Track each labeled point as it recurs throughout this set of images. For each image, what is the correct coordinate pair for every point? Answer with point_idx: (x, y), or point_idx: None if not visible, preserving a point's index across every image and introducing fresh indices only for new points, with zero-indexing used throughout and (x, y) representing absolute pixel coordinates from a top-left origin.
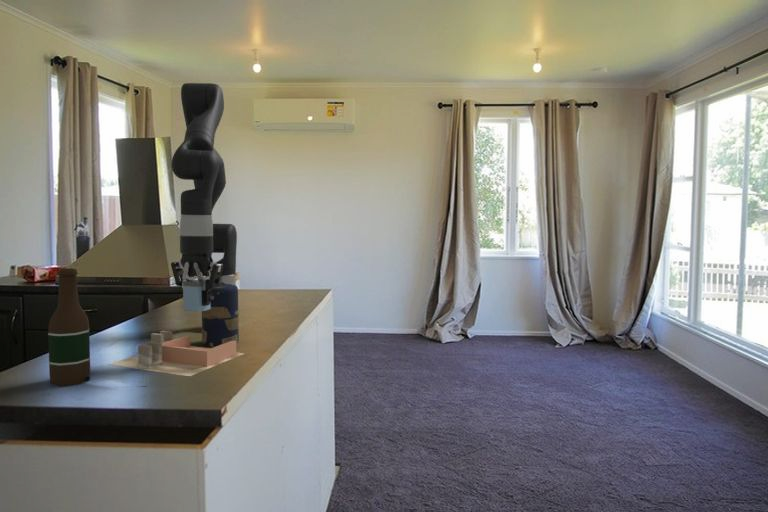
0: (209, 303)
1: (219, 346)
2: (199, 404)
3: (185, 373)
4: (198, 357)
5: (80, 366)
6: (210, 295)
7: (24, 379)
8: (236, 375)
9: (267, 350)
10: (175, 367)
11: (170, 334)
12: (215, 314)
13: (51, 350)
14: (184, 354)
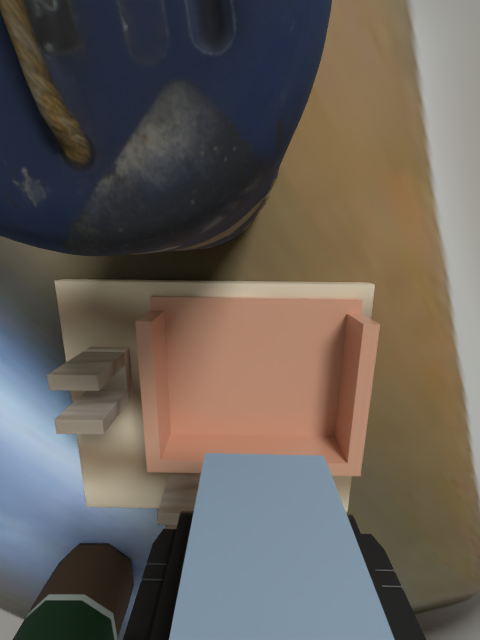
0: (353, 520)
1: (363, 414)
2: (441, 585)
3: None
4: None
5: (120, 620)
6: (406, 606)
7: (7, 588)
8: (427, 429)
9: (398, 151)
10: None
11: (103, 381)
12: (210, 242)
13: None
14: None
